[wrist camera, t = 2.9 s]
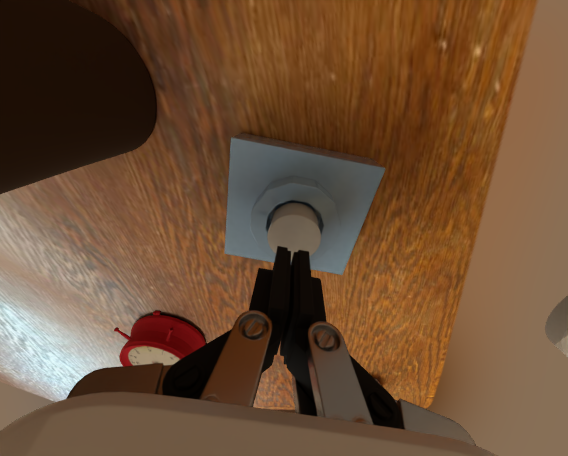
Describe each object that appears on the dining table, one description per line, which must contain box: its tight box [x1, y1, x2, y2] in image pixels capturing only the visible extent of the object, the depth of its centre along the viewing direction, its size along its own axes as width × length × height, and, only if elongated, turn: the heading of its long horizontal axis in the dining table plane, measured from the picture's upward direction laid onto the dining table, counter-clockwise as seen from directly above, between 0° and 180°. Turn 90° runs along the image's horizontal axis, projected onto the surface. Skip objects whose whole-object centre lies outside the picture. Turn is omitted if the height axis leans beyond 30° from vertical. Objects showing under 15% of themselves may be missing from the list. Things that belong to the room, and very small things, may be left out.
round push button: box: [267, 203, 321, 260], centre depth 16 cm, size 4×4×2 cm
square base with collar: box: [225, 133, 386, 275], centre depth 18 cm, size 11×10×5 cm
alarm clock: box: [114, 311, 206, 366], centre depth 31 cm, size 10×6×15 cm
